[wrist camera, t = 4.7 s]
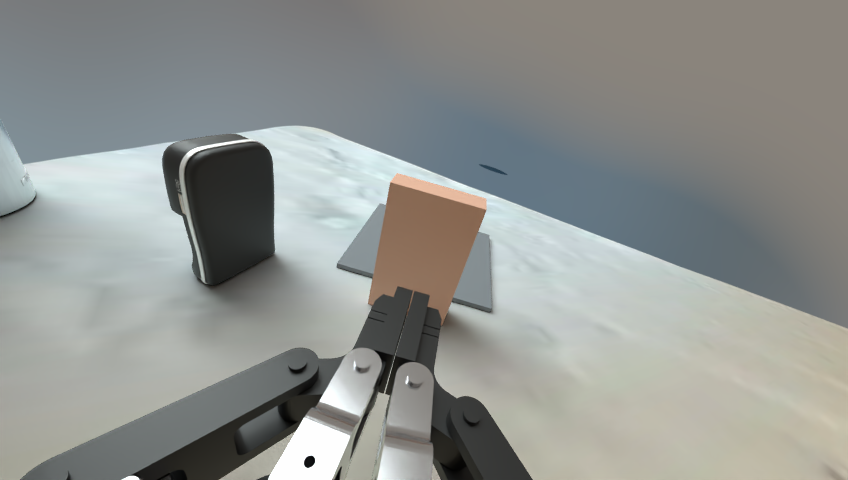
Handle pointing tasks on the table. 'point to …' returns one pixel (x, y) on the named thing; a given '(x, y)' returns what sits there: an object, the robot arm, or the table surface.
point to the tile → (425, 240)
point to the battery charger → (222, 201)
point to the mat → (473, 279)
